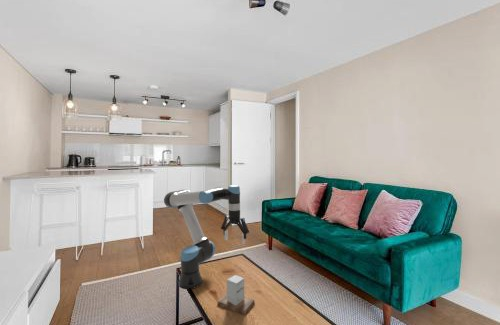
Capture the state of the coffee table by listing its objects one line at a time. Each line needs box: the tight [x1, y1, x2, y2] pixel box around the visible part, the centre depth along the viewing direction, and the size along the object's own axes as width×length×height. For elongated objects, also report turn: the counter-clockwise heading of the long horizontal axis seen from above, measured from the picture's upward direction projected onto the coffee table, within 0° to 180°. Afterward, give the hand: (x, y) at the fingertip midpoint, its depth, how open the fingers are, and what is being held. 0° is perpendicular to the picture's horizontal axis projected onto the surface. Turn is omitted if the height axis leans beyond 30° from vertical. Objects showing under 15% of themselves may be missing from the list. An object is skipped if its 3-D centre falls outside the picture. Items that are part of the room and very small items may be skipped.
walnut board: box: [217, 292, 255, 315], centre depth 140 cm, size 18×11×2 cm, turn 60°
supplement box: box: [226, 274, 245, 305], centre depth 139 cm, size 7×7×13 cm
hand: (234, 242), depth 158 cm, fingers open, 13 cm apart
